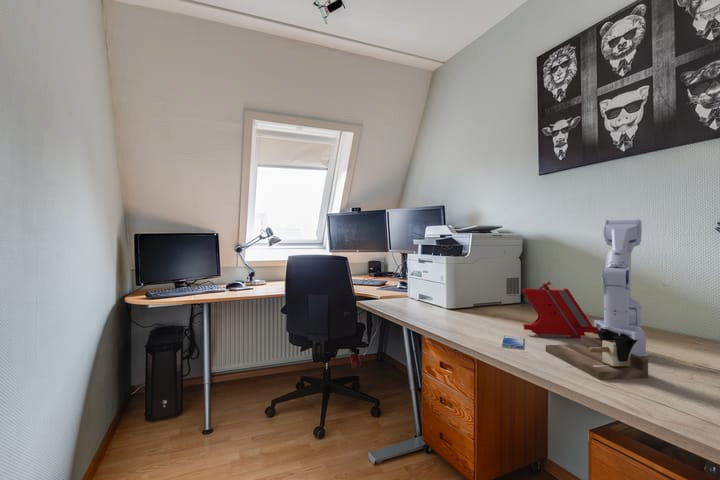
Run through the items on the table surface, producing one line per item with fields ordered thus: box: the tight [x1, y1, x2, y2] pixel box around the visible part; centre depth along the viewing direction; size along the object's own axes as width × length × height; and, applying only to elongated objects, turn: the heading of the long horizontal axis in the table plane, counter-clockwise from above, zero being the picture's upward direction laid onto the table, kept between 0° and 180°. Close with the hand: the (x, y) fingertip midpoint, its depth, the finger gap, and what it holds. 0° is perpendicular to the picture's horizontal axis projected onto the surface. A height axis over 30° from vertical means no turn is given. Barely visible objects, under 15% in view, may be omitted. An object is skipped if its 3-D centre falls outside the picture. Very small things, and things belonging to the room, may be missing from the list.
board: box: [545, 334, 649, 380], centre depth 107 cm, size 14×24×5 cm, turn 4°
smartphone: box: [501, 335, 525, 351], centre depth 128 cm, size 7×1×15 cm
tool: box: [522, 281, 600, 339], centre depth 137 cm, size 27×6×27 cm, turn 86°
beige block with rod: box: [589, 340, 630, 366], centre depth 99 cm, size 10×4×6 cm, turn 94°
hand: (616, 358), depth 99 cm, fingers closed on beige block with rod, 4 cm apart
